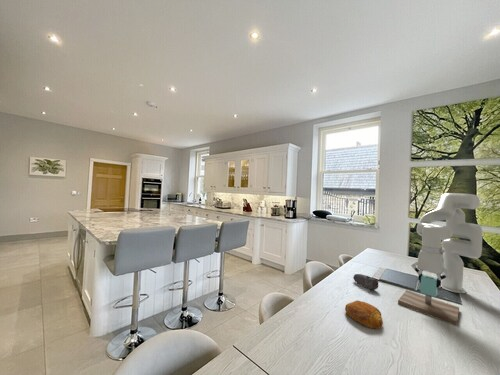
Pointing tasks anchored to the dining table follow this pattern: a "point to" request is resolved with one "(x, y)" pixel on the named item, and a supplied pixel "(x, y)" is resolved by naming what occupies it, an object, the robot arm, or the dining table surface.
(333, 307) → the dining table surface
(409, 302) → the stud board
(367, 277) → the perforated stone tool
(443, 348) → the dining table surface
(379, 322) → the croissant
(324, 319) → the dining table surface
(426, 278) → the teal block
